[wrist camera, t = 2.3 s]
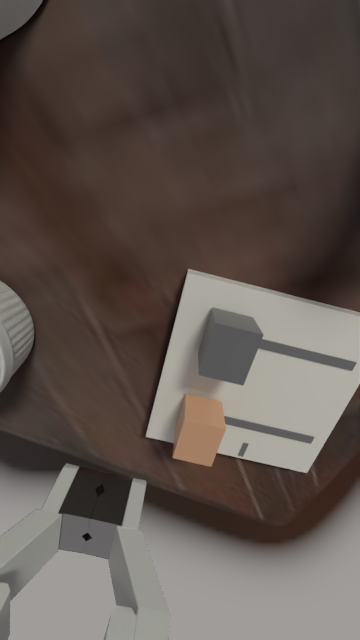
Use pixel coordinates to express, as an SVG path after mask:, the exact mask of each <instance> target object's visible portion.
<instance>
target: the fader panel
mask: <svg viewBox="0 0 360 640" xmlns="http://www.w3.org/2000/svg"><path fill="white" fill-rule="evenodd" d="M212 307H214V308H218V309H222V310H226V311H230V312H234V313H238V314H242V315H246V316H250V317H253V318H254V320H255V321H256V323H257V325H258V326H259V328H260V330H261V331H262V333H263V338H262V340H261V343H260V345H259V348H258V350H257V353H256V355H255V358H254V360H253V363H252V365H251V368H250V370H249V373H248V375H247V378H246V380H245V383H244V385H238V384H234V383H230V382H226V381H221V380H217V379H213V378H209V377H205V376H200V375H199V366H198V352H199V348H200V345H201V342H202V339H203V335H204V332H205V329H206V325H207V322H208V319H209V316H210V312H211V309H212ZM359 384H360V312H356V311H352V310H348V309H344V308H340V307H336V306H332V305H328V304H324V303H321V302H317V301H313V300H309V299H305V298H301V297H297V296H293V295H289V294H285V293H281V292H277V291H273V290H269V289H266V288H262V287H258V286H254V285H250V284H246V283H242V282H238V281H234V280H230V279H226V278H222V277H218V276H214V275H211V274H207V273H203V272H199V271H195V270H191V269H188V271H187V275H186V279H185V283H184V287H183V291H182V295H181V298H180V302H179V306H178V310H177V314H176V318H175V322H174V326H173V330H172V334H171V338H170V342H169V345H168V349H167V353H166V357H165V361H164V365H163V369H162V373H161V377H160V381H159V385H158V388H157V392H156V396H155V400H154V404H153V408H152V412H151V416H150V420H149V424H148V428H147V433H146V437H149V438H153V439H158V440H162V441H166V442H171V443H174V435H175V427H176V424H177V420H178V417H179V414H180V410H181V407H182V404H183V401H184V397H185V394H186V393H188V394H192V395H196V396H201V397H205V398H209V399H213V400H218V401H222V406H223V412H224V419H225V425H226V431H225V433H224V436H223V438H222V441H221V443H220V446H219V448H218V451H217V453H220V454H224V455H229V456H233V457H238V458H242V459H246V460H251V461H255V462H260V463H264V464H269V465H273V466H278V467H282V468H286V469H291V470H295V471H300V472H304V473H307V472H308V470H309V469H310V467H311V465H312V464H313V462H314V460H315V458H316V457H317V455H318V453H319V452H320V450H321V448H322V447H323V445H324V443H325V442H326V440H327V438H328V436H329V435H330V433H331V431H332V430H333V428H334V426H335V425H336V423H337V421H338V420H339V418H340V416H341V414H342V413H343V411H344V409H345V408H346V406H347V404H348V403H349V401H350V399H351V398H352V396H353V394H354V393H355V391H356V389H357V387H358V386H359Z"/></svg>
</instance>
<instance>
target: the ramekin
mask: <svg viewBox="0 0 360 640" xmlns="http://www.w3.org/2000/svg"><path fill="white" fill-rule="evenodd" d="M33 340H34V325H33V321H32V318H31V316H30V313H29V311H28V309H27V307H26V305H25V304H24V302H23V301H22V300H21V298H20V297H19V296H18V295H17V294H16V293H15V292H14V291H13V290H12V289H11V288H10V287H8V286H7V285H6V284H5V283H3V282H1V281H0V392H1V391H2V390H3V389H4V388H5V386H6V385H7V384H8V382H9V380H10V378H11V377H12V375H13V374H14V373H15V372H16V371H17V369H18V368H19V367H20V366H21V364H22V363H23V362H24V361H25V359H26V358H27V357H28V355H29V353H30V351H31V349H32V346H33Z"/></svg>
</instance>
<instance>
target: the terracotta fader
mask: <svg viewBox="0 0 360 640" xmlns="http://www.w3.org/2000/svg"><path fill="white" fill-rule="evenodd" d="M225 431H226V425H225V419H224V412H223V406H222V401H218V400H213V399H209V398H205V397H201V396H196V395H192V394H188V393H186V394H185V397H184V401H183V404H182V407H181V410H180V414H179V417H178V420H177V424H176V427H175V435H174V446H173V457H172V458H175V459H179V460H184V461H188V462H193V463H197V464H201V465H206V466H210V467H211V466H212V463H213V461H214V458H215V456H216V453H217V451H218V448H219V446H220V443H221V441H222V438H223V436H224V433H225Z"/></svg>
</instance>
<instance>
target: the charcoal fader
mask: <svg viewBox="0 0 360 640" xmlns="http://www.w3.org/2000/svg"><path fill="white" fill-rule="evenodd" d="M262 338H263V333H262V331H261V330H260V328H259V326H258V325H257V323H256V321H255V320H254V318H253V317H250V316H246V315H242V314H238V313H234V312H230V311H226V310H222V309H218V308H214V307H212V309H211V312H210V316H209V319H208V322H207V325H206V329H205V332H204V335H203V339H202V342H201V345H200V348H199V352H198V366H199V375H200V376H205V377H209V378H213V379H217V380H221V381H226V382H230V383H234V384H238V385H244V383H245V380H246V378H247V375H248V373H249V370H250V368H251V365H252V363H253V360H254V358H255V355H256V353H257V350H258V348H259V345H260V343H261V340H262Z"/></svg>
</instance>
